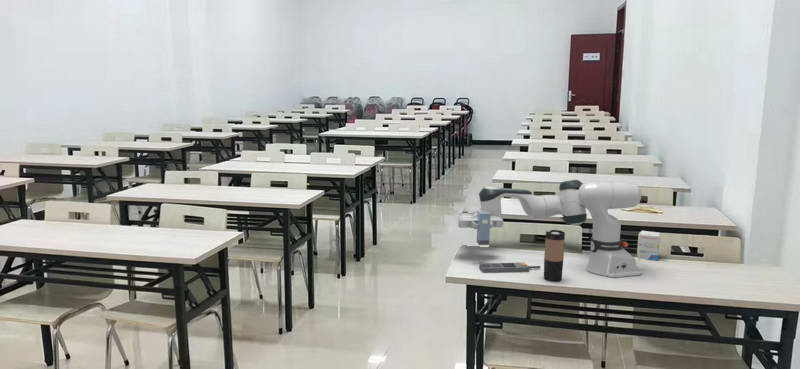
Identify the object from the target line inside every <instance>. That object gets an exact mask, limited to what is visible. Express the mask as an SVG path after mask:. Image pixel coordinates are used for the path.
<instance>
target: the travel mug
mask: <svg viewBox="0 0 800 369" xmlns="http://www.w3.org/2000/svg"><path fill="white" fill-rule="evenodd" d="M565 236H566V232H565V231H563V230H558V229H551V230H548V231H547V230H546V231H545V244H544V256H543V279H544V280H545V281H548V282H551V283H557V282H561V281H562V277H563V268H564V260H565V259H564V257H565V238H566V237H565Z"/></svg>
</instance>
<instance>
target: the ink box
mask: <svg viewBox="0 0 800 369" xmlns="http://www.w3.org/2000/svg"><path fill="white" fill-rule="evenodd" d="M660 240H661V232H657V231H647V230H641V231H640V233H639V242H638V244H639V245H638V259H640V260H649V261H659V254H660V244H661V241H660Z"/></svg>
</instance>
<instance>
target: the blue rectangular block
mask: <svg viewBox="0 0 800 369" xmlns="http://www.w3.org/2000/svg"><path fill="white" fill-rule="evenodd" d="M490 215H491V214H490V213H489V212H488V211H484V212H478V220H477V223H478V224H479V228H477V229H476V243H477V245H478V246H489V245H490V236H491V228H490Z"/></svg>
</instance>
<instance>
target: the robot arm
mask: <svg viewBox="0 0 800 369" xmlns="http://www.w3.org/2000/svg"><path fill="white" fill-rule="evenodd" d="M558 188H559V190H558V191H559V195H557V194H542V195H536V194H533V192H532V191H530V190H527V189H520V188H508V187H507V188H504V187H497V186H496V187H495V186H489V185H488V186H484V187H483V188H482V189H480V192H479V193H478V196H479V202H480V207H479V206H477V205H475V204H466V206H465V207H464V208H463V209H462V210H463V211H462V212H459V213H458V220H457V226H458V228H463V229H464V228H465V229H466V228H467V229H469V228H471V229H474V230H477V228H479V224H478V223H477V220H478V212H484V211H488V212H489V213H490V214H491V215H490V229H493V228H502V227H504V219H503V218H502V216H503V214H502V201H501V200H502V198H517V199H518V201H519V203H520V205H521V208H522V210H523V211H524V214H526V215H527V217H529V218H531V219H545V218H550V217H554V216H558V215H561V216H562V217H559V219H561V220H563V221H564V223H565V224H567V225H570V226H579V225H581V224H583V223H585V222H586V221H587V218H588V216H587V215H588V214H587V211H588V212H589V213H590V216H591V219H592V236H591V238H590V254H589V258H588V259H589V260H588V262H587V265H586V268H585V269H586V270H587V271H588V272H590V273H591V274H596V275H600V276H605V277H609V278H623V277H624V278H625V277H632V276H633V277H634V276H641V275H642V270H641V269H640V268H638V267H637V262H636V259H635V257H634V256H633V255H631V254H630V253H629V252H628V251H627V250H626V249H624V247H625V248H627V247H629V243H628V242H626V241H623V240H621V229H622V228H621V225H622V224H621V221H620V220H619V219H618V218H617V217H616V216H613V215H612V214H609V212H608V210H614V209H615V210H616V209H629V208H636V207H637V206H638V205H639V204H640V202H641V199H642V192H641V189H640V187H639V186H638V184H634V183H630V182H626V181H594V180H593V181H588V182H583V183H582V181H580V180H578V179H575V178H569V179H565V180H564V181H561V182H560V183H559V186H558Z"/></svg>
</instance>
